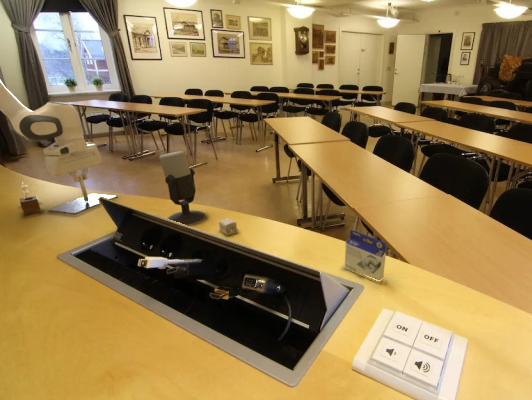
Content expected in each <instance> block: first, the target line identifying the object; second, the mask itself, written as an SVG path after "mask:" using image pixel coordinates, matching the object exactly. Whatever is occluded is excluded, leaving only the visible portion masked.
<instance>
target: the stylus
mask: <svg viewBox="0 0 532 400" xmlns="http://www.w3.org/2000/svg"><path fill="white" fill-rule="evenodd" d="M77 176H78V177H81V181H79V182H78V183H79V185H80V190H81V192H82V197H84V200H85V201H86V202H87V201H89V199H88V195H89V194H88V191H87V189H86V184H85V180H83V177H82V172H79V173H77Z"/></svg>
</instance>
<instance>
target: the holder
mask: <svg viewBox="0 0 532 400" xmlns="http://www.w3.org/2000/svg"><path fill="white" fill-rule="evenodd" d="M19 203H20V207H21V209H22V212H23V215H24V217H27V216H31V215H32V216H33V215H38V214H42V208H41V204H40V202H39V199H38V196H37V195H33V196H30V197H21V198H19Z"/></svg>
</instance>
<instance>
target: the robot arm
mask: <svg viewBox="0 0 532 400" xmlns="http://www.w3.org/2000/svg"><path fill="white" fill-rule="evenodd" d="M0 112H1V113H2V114H3V115H4V116H5V117H6V118H7V120H8V123H9V125H10V127H11V129H12V130H13V132H14V133H15V134H17V135H18V136H20V137H22V138H25V139H28V140H30V141H34V142H45V141H47V140H51V139H54V141H55V142H53V143H51V144H50V145H48V146H47V147H45V148H44V149H43V150H42V151H43V154H44V155H46V156H45V159H44V161H45V166H46V170H47V172H48V174H49V175H50V176H53V177H60V176H63V175H67V174H68V175H69V176H71V178H73V181H74V183H80V182H79V181H81V177H78V173H77V171H81V174H82V177H83V181H85V180H88V176H87V175H88V173H89V168H90V167H94V166H97V165H100V164H102V162H103V159H102V156H101V153H100V151H99V149H98V146H97V144H96V143H95V142H93V141H89V142H86V140H85V136H84V135H83V133H82V125H81V121H80V118H79V115H78V112H77V110H76V107H74V106H73V104H70V103H67V102H61V101H48V102H46V103H45V104H44V105H42V106H41V107H39V108H37V109H35V110H32V109H29V108H27V107H26V106H25V105H24V104H22V102H21V101H19V99H18V98H17V97H16V96H14V94H13V93H12V92H11V91H10V90H9V89H8V88H7V87H6V86H5V85H4V83H3V82H2V80H1V79H0Z"/></svg>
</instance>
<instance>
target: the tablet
mask: <svg viewBox="0 0 532 400" xmlns="http://www.w3.org/2000/svg"><path fill="white" fill-rule="evenodd" d="M87 195H88V199H89V201H87V202H86V201H85V200H84V197H83V196H81V197H79V198H76V199H74V200H71V201H68V202H65V203H64V204H61V205H58V206H56V207H53V208H50V209H48V210H47V212H49V213H56V214H58V213H59V214H67V215H75V216H76V215H78V214H80V213H83V212H86V211H88V210H90V209H92V208H94V207H97V206H99V205H101V204H100V203H99V200H98V199H99V198H100V197H104V198H107V199H110V200H109V201H111V200H113V199H118V195H112V194H103V193H90V194H87Z"/></svg>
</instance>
